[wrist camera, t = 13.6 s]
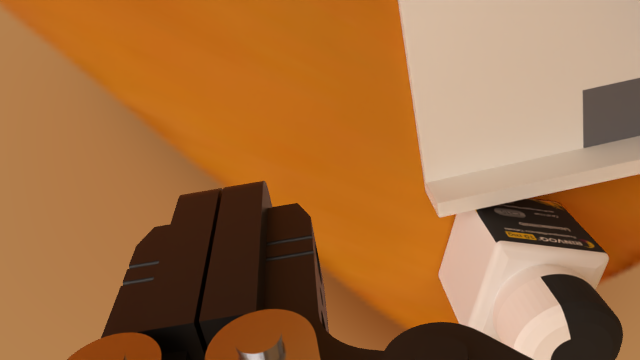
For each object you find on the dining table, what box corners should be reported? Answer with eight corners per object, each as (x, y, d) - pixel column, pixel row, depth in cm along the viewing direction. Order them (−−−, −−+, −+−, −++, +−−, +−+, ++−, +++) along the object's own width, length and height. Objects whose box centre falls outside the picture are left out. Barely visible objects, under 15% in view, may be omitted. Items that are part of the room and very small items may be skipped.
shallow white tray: (377, -138, 32) (389, -142, 28) (849, -247, 31) (916, -264, 28) (425, 191, 40) (439, 217, 37) (794, 111, 40) (841, 130, 36)
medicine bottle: (560, 200, 41) (662, 308, 30) (528, 285, 44) (610, 411, 33) (462, 188, 40) (532, 294, 29) (436, 275, 43) (490, 401, 32)
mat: (578, 87, 38) (582, 90, 37) (671, 66, 38) (677, 69, 37) (579, 144, 39) (583, 148, 39) (668, 125, 39) (674, 128, 39)
